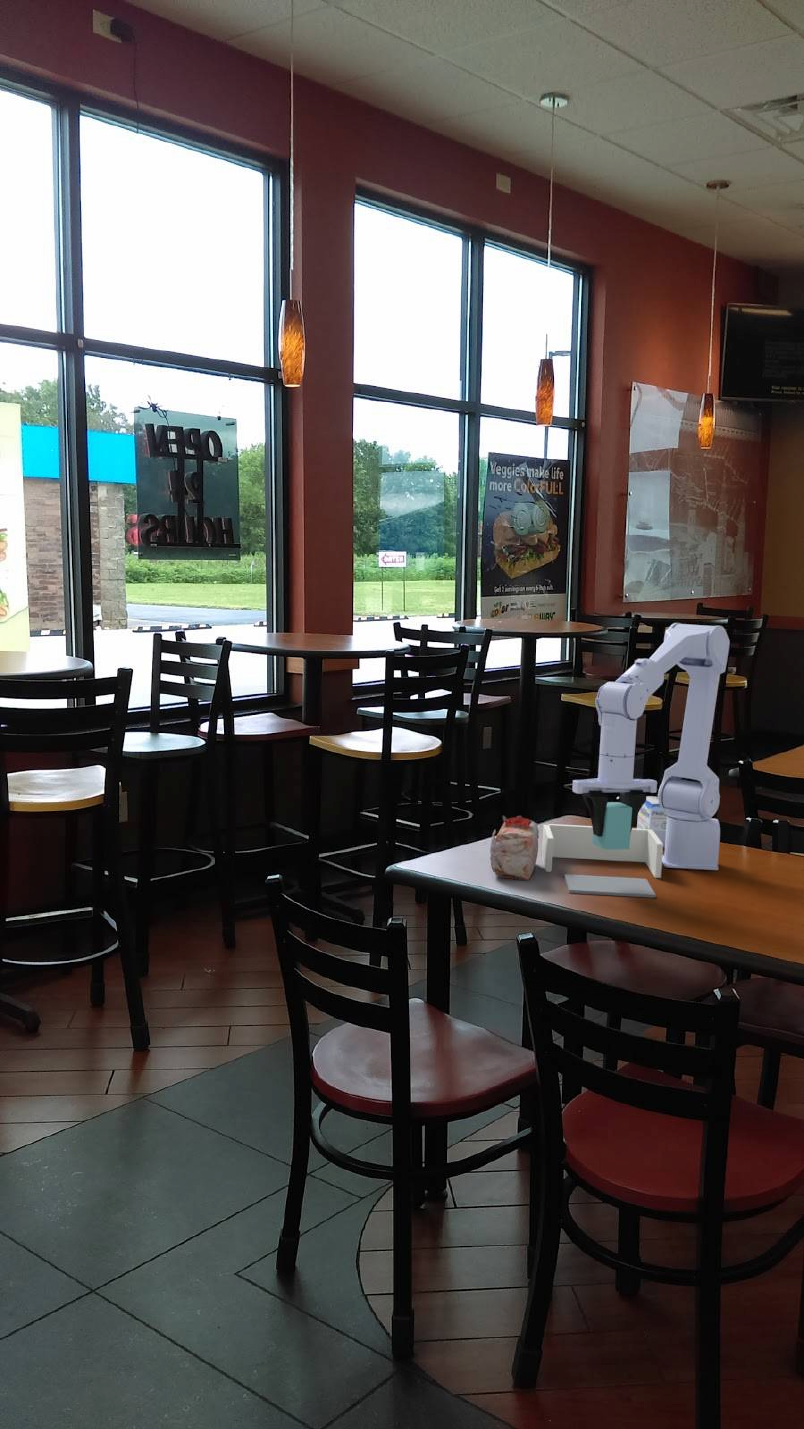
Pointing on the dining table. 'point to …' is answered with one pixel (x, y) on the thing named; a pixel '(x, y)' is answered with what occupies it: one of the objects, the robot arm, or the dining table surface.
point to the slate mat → (609, 885)
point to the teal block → (615, 827)
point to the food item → (515, 848)
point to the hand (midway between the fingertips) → (611, 834)
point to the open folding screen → (580, 845)
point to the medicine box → (653, 818)
